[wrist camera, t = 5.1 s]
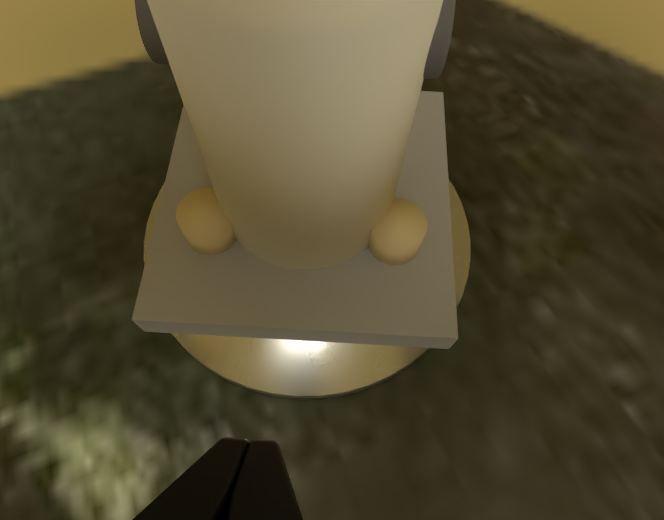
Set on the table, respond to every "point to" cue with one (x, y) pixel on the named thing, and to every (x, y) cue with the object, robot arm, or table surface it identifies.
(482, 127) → the table surface
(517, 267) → the table surface
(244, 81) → the yellow cylinder stand
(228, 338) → the levelling stand
